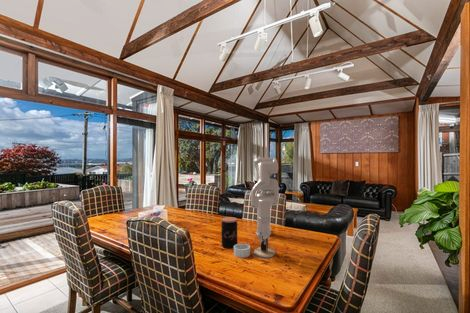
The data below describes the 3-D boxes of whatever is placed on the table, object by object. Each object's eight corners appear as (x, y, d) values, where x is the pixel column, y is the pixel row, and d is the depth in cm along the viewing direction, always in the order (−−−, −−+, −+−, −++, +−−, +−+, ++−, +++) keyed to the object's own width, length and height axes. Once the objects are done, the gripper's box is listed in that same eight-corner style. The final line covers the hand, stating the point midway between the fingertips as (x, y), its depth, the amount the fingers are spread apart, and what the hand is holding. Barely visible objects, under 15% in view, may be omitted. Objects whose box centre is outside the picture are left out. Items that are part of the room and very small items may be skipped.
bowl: (238, 250, 145) (238, 242, 145) (252, 253, 140) (252, 245, 140) (230, 256, 136) (230, 247, 136) (245, 259, 132) (245, 251, 132)
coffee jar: (223, 249, 146) (223, 221, 147) (220, 243, 157) (219, 217, 157) (239, 247, 149) (239, 220, 149) (235, 242, 159) (234, 216, 160)
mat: (261, 248, 147) (261, 247, 147) (276, 251, 142) (276, 250, 142) (252, 257, 135) (252, 256, 135) (268, 260, 130) (268, 259, 130)
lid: (258, 247, 148) (258, 236, 148) (278, 251, 142) (278, 239, 142) (250, 254, 136) (250, 243, 136) (271, 259, 130) (270, 247, 130)
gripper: (263, 215, 148) (263, 243, 148) (253, 221, 134) (253, 253, 134) (274, 216, 144) (274, 245, 144) (265, 223, 130) (265, 255, 130)
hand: (264, 249), depth 139 cm, fingers closed on lid, 3 cm apart
